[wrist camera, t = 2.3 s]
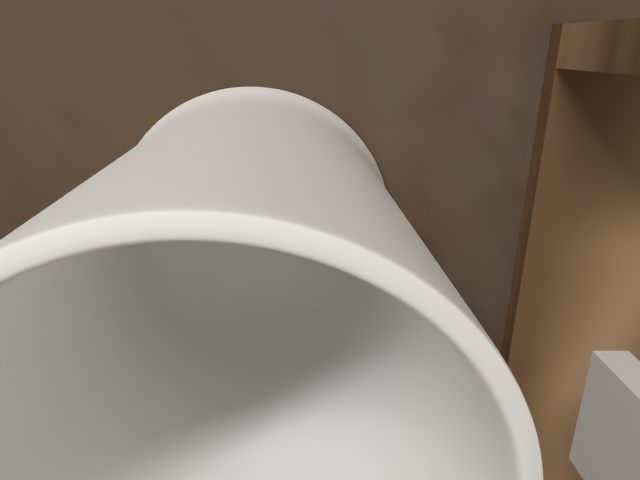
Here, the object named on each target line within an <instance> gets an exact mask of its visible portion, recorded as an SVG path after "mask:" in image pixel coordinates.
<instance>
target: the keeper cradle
mask: <svg viewBox="0 0 640 480" xmlns="http://www.w3.org/2000/svg"><path fill="white" fill-rule="evenodd" d="M592 351H629V352H630V353H632V354H633V355H634V356H635V357H636V358H637V359H638V360H639V361H640V18H635V19H622V20H608V21H594V22H580V23H567V24H553V28H552V35H551V41H550V48H549V54H548V61H547V67H546V73H545V80H544V86H543V93H542V99H541V105H540V112H539V118H538V125H537V131H536V137H535V144H534V150H533V157H532V163H531V170H530V176H529V182H528V189H527V195H526V202H525V208H524V214H523V221H522V227H521V234H520V240H519V246H518V253H517V259H516V266H515V272H514V279H513V285H512V291H511V298H510V304H509V311H508V317H507V323H506V330H505V336H504V343H503V349H502V355H501V356H502V357H503V359H504V360H505V362H506V364H507V365H508V367H509V369H510V370H511V372H512V374H513V376H514V377H515V379H516V381H517V383H518V385H519V387H520V389H521V391H522V394H523V396H524V398H525V400H526V403H527V405H528V408H529V410H530V413H531V416H532V419H533V422H534V425H535V429H536V432H537V436H538V441H539V445H540V451H541V457H542V466H543V480H583V479H582V477H581V476H580V474H579V473H578V471H577V470H576V468H575V467H574V465H573V464H572V462H571V461H570V459H569V456H570V451H571V447H572V442H573V438H574V433H575V428H576V424H577V419H578V415H579V410H580V406H581V401H582V397H583V392H584V387H585V383H586V378H587V374H588V369H589V365H590V360H591V356H592Z"/></svg>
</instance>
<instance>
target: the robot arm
mask: <svg viewBox="0 0 640 480" xmlns="http://www.w3.org/2000/svg"><path fill="white" fill-rule="evenodd" d="M569 459H570V461H571V462H572V464H573V465H574V467H575V468H576V470H577V471H578V473H579V474H580V476H581V477H582V479H583V480H640V361H639V360H638V359H637V358H636V357H635V356H634V355H633V354H632V353H630V352H629V351H592V356H591V360H590V365H589V369H588V374H587V378H586V383H585V387H584V392H583V397H582V401H581V406H580V410H579V415H578V419H577V424H576V428H575V433H574V438H573V442H572V447H571V451H570V456H569Z"/></svg>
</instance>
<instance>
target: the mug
mask: <svg viewBox="0 0 640 480" xmlns="http://www.w3.org/2000/svg"><path fill="white" fill-rule="evenodd" d="M0 480H543V466H542V457H541V451H540V445H539V441H538V436H537V432H536V429H535V425H534V422H533V419H532V416H531V413H530V410H529V408H528V405H527V403H526V400H525V398H524V396H523V394H522V391H521V389H520V387H519V385H518V383H517V381H516V379H515V377H514V376H513V374H512V372H511V370H510V369H509V367H508V365H507V364H506V362H505V360H504V359H503V357H502V356H501V354H500V353H499V351H498V350H497V348H496V346H495V345H494V343H493V342H492V341H491V339H490V338H489V336H488V335H487V333H486V332H485V330H484V329H483V327H482V326H481V325H480V323H479V322H478V320H477V319H476V317H475V316H474V314H473V313H472V312H471V310H470V309H469V307H468V306H467V304H466V303H465V302H464V300H463V299H462V297H461V296H460V294H459V293H458V292H457V290H456V289H455V287H454V286H453V284H452V283H451V282H450V280H449V279H448V277H447V276H446V274H445V273H444V272H443V270H442V269H441V267H440V266H439V264H438V263H437V262H436V260H435V259H434V257H433V256H432V254H431V253H430V252H429V250H428V249H427V247H426V246H425V244H424V243H423V241H422V240H421V239H420V237H419V236H418V234H417V233H416V231H415V230H414V229H413V227H412V226H411V224H410V223H409V221H408V220H407V219H406V217H405V216H404V214H403V213H402V211H401V210H400V209H399V207H398V206H397V204H396V203H395V201H394V200H393V199H392V197H391V196H390V194H389V193H388V191H387V190H386V188H385V185H384V182H383V178H382V176H381V173H380V171H379V168H378V166H377V164H376V162H375V160H374V158H373V156H372V155H371V153H370V151H369V150H368V148H367V147H366V145H365V144H364V143H363V141H362V140H361V139H360V138H359V136H358V135H357V134H356V133H355V132H354V131H353V130H352V129H351V128H350V127H349V126H348V125H347V124H346V123H345V122H344V121H343V120H341V119H340V118H339V117H338V116H336V115H335V114H334V113H332V112H331V111H329V110H328V109H326V108H325V107H323V106H321V105H320V104H318V103H316V102H314V101H312V100H310V99H307V98H305V97H302V96H300V95H297V94H294V93H291V92H287V91H283V90H278V89H273V88H265V87H235V88H228V89H222V90H218V91H214V92H210V93H207V94H204V95H201V96H198V97H196V98H194V99H191V100H189V101H187V102H185V103H184V104H182V105H180V106H178V107H177V108H175V109H173V110H172V111H171V112H169V113H168V114H166V115H165V116H164V117H163V118H161V119H160V120H159V121H158V122H157V123H156V124H155V125H154V126H153V127H152V128H151V129H150V130H149V131H148V132H147V133H146V134H145V136H144V137H143V138H142V139H141V141H140V142H139V144H138V145H137V146H136V147H134V148H133V149H131V150H130V151H129V152H127V153H126V154H124V155H123V156H121V157H120V158H118V159H117V160H116V161H114V162H113V163H111V164H110V165H108V166H107V167H105V168H104V169H102V170H101V171H100V172H98V173H97V174H95V175H94V176H92V177H91V178H89V179H88V180H87V181H85V182H84V183H82V184H81V185H79V186H78V187H76V188H75V189H74V190H72V191H71V192H69V193H68V194H66V195H65V196H63V197H62V198H61V199H59V200H58V201H56V202H55V203H53V204H52V205H50V206H49V207H47V208H46V209H45V210H43V211H42V212H40V213H39V214H37V215H36V216H34V217H33V218H32V219H30V220H29V221H27V222H26V223H24V224H23V225H21V226H20V227H19V228H17V229H16V230H14V231H13V232H11V233H10V234H8V235H7V236H6V237H4V238H3V239H1V240H0Z"/></svg>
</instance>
